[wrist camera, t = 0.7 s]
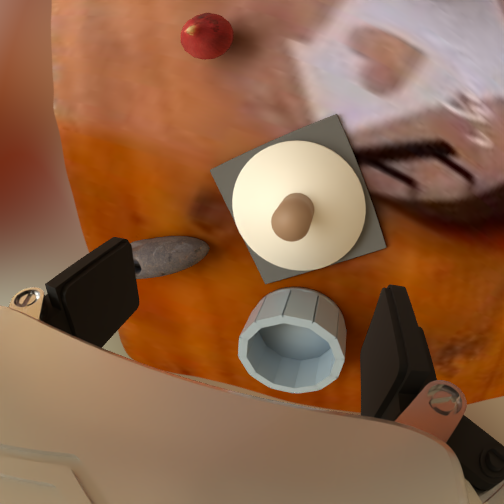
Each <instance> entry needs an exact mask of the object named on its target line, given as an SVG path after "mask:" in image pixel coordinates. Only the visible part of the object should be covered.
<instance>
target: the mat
mask: <svg viewBox="0 0 504 504" xmlns="http://www.w3.org/2000/svg"><path fill="white" fill-rule="evenodd" d="M295 140H299V141H309V142H314V143H317V144H320V145H323V146H325V147H327V148H329V149H331V150H333V151H334V152H336V153H337V154H339V155H340V156H341V157H342V158H343V159H344V160H345V161H346V162H347V163H348V164H349V165H350V166H351V167H352V169H353V170H354V172H355V173H356V175H357V177H358V179H359V181H360V183H361V186H362V189H363V193H364V197H365V204H366V214H365V221H364V225H363V229H362V231H361V234H360V236H359V238H358V240H357V241H356V243H355V245H354V246H353V247H352V248H351V249H350V251H349V252H348V253H347V254H345V255H344V256H343V257H342V258H340V259H339V260H338V261H336V262H334V263H332V264H336V263H339V262H342V261H345V260H349V259H352V258H355V257H358V256H361V255H365V254H368V253H371V252H374V251H377V250H380V249H383V248H386V244H385V241H384V238H383V235H382V231H381V228H380V225H379V222H378V219H377V216H376V213H375V210H374V207H373V204H372V201H371V198H370V196H369V193H368V190H367V187H366V185H365V182H364V179H363V177H362V174H361V171H360V169H359V166H358V164H357V161H356V159H355V156H354V154H353V151H352V149H351V146H350V144H349V142H348V139H347V137H346V135H345V132H344V130H343V128H342V125H341V123H340V121H339V119H338V117H337V114H336V115H333V116H330V117H328V118H325V119H323V120H320V121H318V122H315V123H313V124H310V125H308V126H305V127H303V128H301V129H298V130H296V131H293V132H291V133H289V134H286V135H284V136H282V137H279V138H277V139H275V140H273V141H270V142H268V143H266V144H264V145H261V146H259V147H257V148H255V149H253V150H251V151H248V152H246V153H244V154H242V155H240V156H238V157H236V158H234V159H232V160H229V161H227V162H225V163H223V164H221V165H219V166H217V167H215V168H213V169H211V170H210V172H211V174H212V176H213V178H214V180H215V182H216V184H217V186H218V188H219V190H220V192H221V194H222V196H223V198H224V200H225V202H226V205H227V207H228V209H229V211H230V213H231V215H232V217H233V219H234V215H233V208H232V198H233V190H234V187H235V183H236V180H237V178H238V176H239V174H240V172H241V170H242V169H243V167H244V166H245V165H246V163H247V162H248V161H249V160H250V159H251V158H252V157H253V156H254V155H256V154H257V153H259V152H260V151H262V150H263V149H265V148H267V147H269V146H272V145H275V144H277V143H281V142H286V141H295ZM234 221H235V219H234ZM235 223H236V222H235ZM244 241H245V240H244ZM245 243H246V242H245ZM246 245H247V247H248V250H249V252H250V254H251V256H252V258H253V260H254V262H255V264H256V266H257V268H258V270H259V272H260V274H261V276H262V278H263V280H264V282H265V284H267V283H271V282H275V281H278V280H282V279H285V278H288V277H292V276H295V275H299V274H302V273H306V272H309V271H312V270H307V271H297V270H290V269H286V268H282V267H279V266H276V265H274V264H272V263H270V262H268V261H266V260H265V259H263V258H262V257H260V256H259V255H258V254H257V253H255V252H254V251H253V250H252V249H251V248H250V247H249V246H248V244H247V243H246ZM332 264H330V265H332ZM328 266H329V265H328ZM325 267H326V266H325ZM315 270H316V269H315Z"/></svg>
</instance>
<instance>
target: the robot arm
mask: <svg viewBox="0 0 504 504" xmlns="http://www.w3.org/2000/svg"><path fill="white" fill-rule="evenodd" d="M45 285H46V289H47V293H48V294H47V295H46V296H45V295H44V292H43V291H42V289H40V288H36V287H31V288H26V289H24V290H21V291H19V292H18V293H16V294H15V295H14V296H13V297H12V300H11V302H10V305H9V307H4V306H0V504H504V446H503V445H501V444H500V443H499V442H497V441H496V440H495V439H494V438H492V437H491V436H490V435H489V434H487V433H486V432H485V431H483V430H482V429H481V428H480V427H478V426H477V425H476V424H475V423H473V422H472V421H471V420H470V419H468V418H467V417H466V416H464V413H465V410H466V407H467V405H466V399H465V396H464V394H463V393H462V391H461V390H460V389H459V388H458V387H457V386H456V385H454V384H452V383H450V382H447V381H443V380H437V378H436V374H435V370H434V367H433V363H432V359H431V356H430V352H429V349H428V345H427V342H426V338H425V335H424V332H423V330H422V328H421V327H418V324H417V321H416V318H415V315H414V311H413V308H412V305H411V302H410V299H409V296H408V294H407V291H406V288H405V287H402V286H396V285H389V286H388V287H387V288H383V289H382V291H381V293H380V297H379V300H378V303H377V306H376V309H375V312H374V315H373V318H372V321H371V324H370V327H369V329H368V332H367V335H366V338H365V340H364V343H363V346H362V349H361V354H360V363H361V415H354V414H348V413H342V412H335V411H329V410H323V409H316V408H311V407H305V406H300V405H294V404H289V403H284V402H279V401H273V400H269V399H264V398H260V397H256V396H251V395H247V394H243V393H239V392H235V391H230V390H227V389H223V388H219V387H215V386H211V385H208V384H204V383H201V382H198V381H194V380H191V379H187V378H184V377H181V376H178V375H175V374H172V373H169V372H166V371H163V370H160V369H157V368H154V367H151V366H148V365H145V364H142V363H139V362H137V361H134V360H131V359H128V358H126V357H123V356H121V355H118V354H115V353H113V352H110V351H108V350H105V349H103V348H102V347H103V346H104V344H105V343H106V342H107V341H108V340H109V339H110V338H111V337H112V336H113V334H114V333H115V332H116V331H117V330H118V329H119V328H120V327H121V326H122V325H123V324H124V323H125V321H126V320H127V319H128V318H129V317H130V316H131V315H132V314H133V313H134V312H135V311H136V310H137V308H138V306H139V296H138V289H137V282H136V275H135V268H134V260H133V251H132V246H131V244H130V243H129V242H128V240H127V239H123V238H117V237H113V238H111V239H110V240H108V241H107V242H105V243H104V244H102V245H101V246H99V247H98V248H96V249H95V250H93V251H92V252H90V253H89V254H87V255H86V256H84V257H83V258H81V259H80V260H78V261H77V262H76V263H74V264H73V265H71V266H70V267H68V268H67V269H66V270H64V271H63V272H61V273H60V274H59V275H57V276H56V277H54V278H53V279H52V280H50V281H49V282H48V283H46V284H45Z"/></svg>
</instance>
